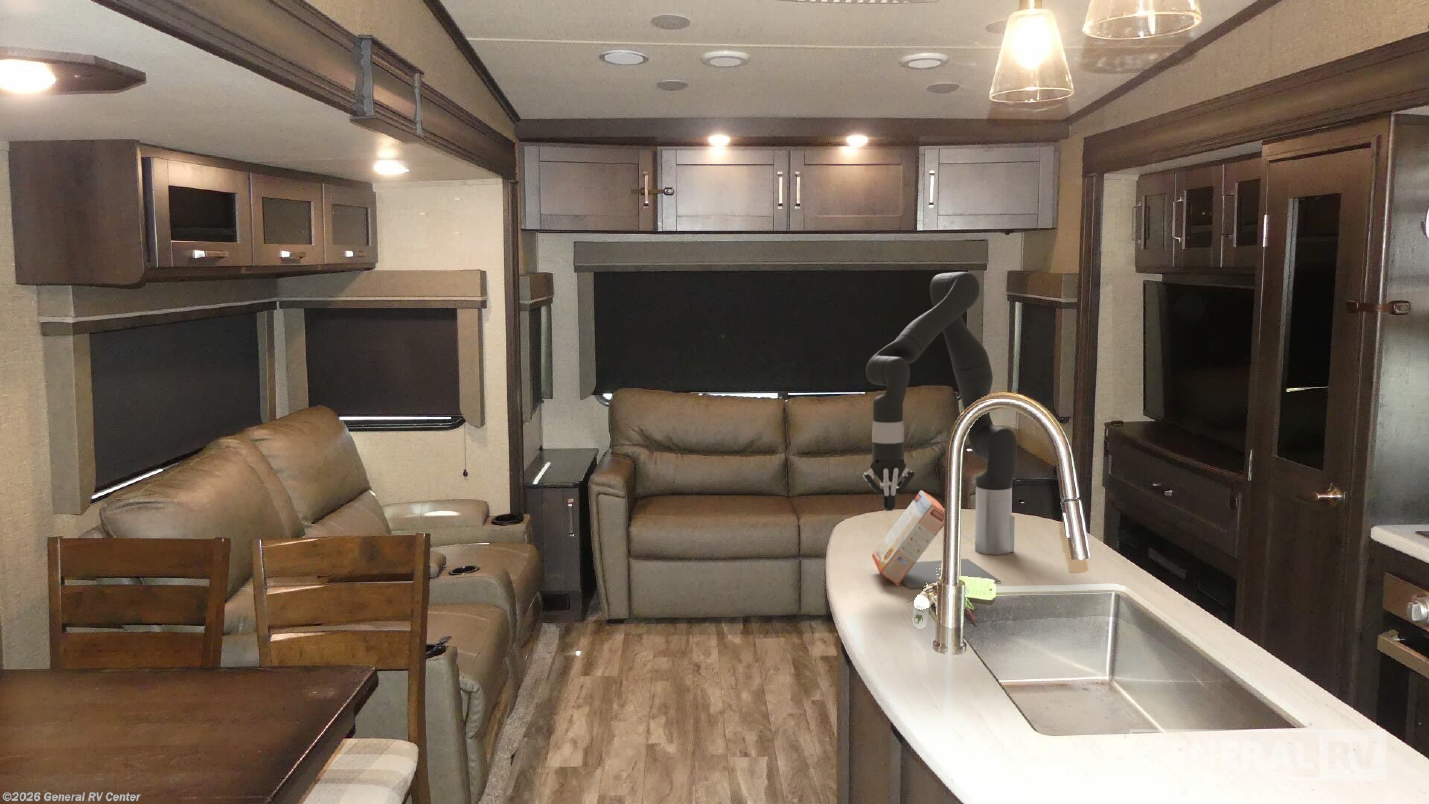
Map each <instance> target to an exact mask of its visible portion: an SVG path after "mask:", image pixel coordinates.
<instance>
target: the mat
mask: <svg viewBox="0 0 1429 804" xmlns="http://www.w3.org/2000/svg"><path fill="white" fill-rule="evenodd" d="M960 559H961V576H968V577H981V578H989V579H993V580H995V582H1001V583H1002V581H1001V580H1000V579H998V578H997V577H996V576H995V575H993V574H991V573H990V572H988V571H987V570H985V569H984V568H982V567H981V566H979V565H978V564H976V563H975V562H973V561H972V560H970V559H969V558H960ZM941 563H942V559H940V560H928V561H916V563H915V564H914V565H913V567H912V568H911V569H910V571H909V572H908V573H907V575H906V576H905V577H904V579H903V580H902V581H901V582H900V583H903V585H905V586H906V585H907V586H908V587H909V588H908V587H907V586H906V587H907V588H908V589H910V590H916V589H918V590H919V589H924V588H923V587H924V586H926V585H927V584H928V585H929V584H932V583H936V582H937V581H938V580H939V577H940V576H941V569H940V570H939V568H941ZM939 565H940V566H939ZM936 568H937V569H936ZM936 571H937V572H936ZM936 574H939V575H936ZM937 577H938V578H937ZM926 583H927V584H926ZM913 588H914V589H913Z"/></svg>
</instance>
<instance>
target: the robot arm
mask: <svg viewBox="0 0 1429 804" xmlns="http://www.w3.org/2000/svg"><path fill="white" fill-rule="evenodd" d="M980 288H981V287H980V282H979V280H978V278H977V277H976V276H975V275H974V274H973V273H971V272H968V271H956V272H955V271H954V272H944V273H939V274H936V275H935V276H933V278H932V279H931V282H930V285H929V295H930V300H931V303H932V306H933V307H932V308H931V309H930V310H929V309H928V311H926V312H924V313H923V314H921V315H919V316H918V317H917V318H915V319H914V320H912V321H911V322H910V323H909V324H908V325H906V326H905V327H904V329H903V330H902V331H901V332H900V334H898V336H897V337H896V338H895V339H894V341H892V342H890V343H889V344H887V345H886V346H884V347H883V348H882V349H880V350H879V351H877V352H876V353H875V354H873V356H872V357H870V358H869V360H868V361H867V364H866V367H865V376H866V379H867V380H868V382H870V383H871V384H873V385H876V386H885V387H886V391H885V394H881V395H878V396H876V397H875V398H874V399H873V402H872V403H873V404H872V409H873V410H872V415H873V417H872V420H873V422H872V429H871V441H872V442H871V443H872V446H871V447H872V448H871V449H872V450H871V451H872V453H871V454H872V455H871V456H872V459H871V460H872V462H871V464H870V469H868V470H867V471H866V472H863V473H862V474H861V476H862V478H863V479H864V480H865V481H866V483H867V484H868V485H869V486H870V488H871V489H872V490H873V491H874V492H875V493H876V494H878V495H881V506H882V508H883V509H884V510H885V511H886V512H892V511H893V510H894V509H895V507H896V495H897V494H900V493H902V492H904V490H905V488H907V486H908V484H910V482H911V481H912V479H913V478H914V477H915V472H914V471H913V470H910V469H909V468H907V463H906V462H905V428H904V406H903V405H904V401H905V398H906V393H907V389H908V385H909V382H910V378H911V370H910V369H911V368H910V366H909V364H912V363H914V362H916V361H917V359H919V357H920V356H921V355H922V354H923V353H924V351H925V350H926V349H927V348H928V347H929V346H930V344H931V343H932V342H933V341H934V340H935V339H936V338H937V337H938V336H939V335H940V334H941V333H942V332H943V336H944V339H945V343H946V346H947V350H948V353H949V357H950V360H951V364H952V370H953V373H954V377H955V380H956V384H957V387H958V391H959V396H960V399H961V404H962V407H963V411H964V410H965V409H966V408H967V407H968V406H970V405H971V404H972V403H973V402H975V401H976V400H978V399H981V397H984V396H987V395H988V394H989V395H990V394H991V389H992V385H993V379H994V376H993V375H994V374H993V370H992V366H991V362H990V359H989V356H988V352H987V350H986V348H985V347H984V346H983V344H982V343H981V342H980V341H979V339H978V338H977V337H976V336H975V335H974V333H972V331H971V330H970V328H968V326H967V325H966V323H965V320H964V319H963V316H962V315H963V314H964V313H965V312H967V310H969V309H970V308H972V306H973V305H975V303H976V301H977V300H978V299H979V296H980V295H979V294H980V291H981V289H980ZM990 414H991V413H990V411H989V412H988V413H987V414H984V415H982V416H981V417H979V418H978V420H976V421H975V423H974V424H973V426H972V427H971V428H970V431H969V433H968V432H967V436H968V442H969V446H970V449H971V452H972V453H973V454H974V456H976V457H978V458H979V459H982V460H987V465H986V470H985V472H981V473H979V474H977V475H976V478H975V517H974V518H975V523H974V524H975V526H974V527H975V528H974V529H975V530H974V532H975V534H974V539H975V540H974V550H975V551H976V552H978V553H980V554H986V555H993V556H994V555H998V556H999V555H1006V554H1009V553H1014V552H1015V527H1016V526H1015V525H1016V524H1015V522H1016V517H1015V515H1012V513H1013V510H1012V509H1013V506H1012V504H1013V498H1012V497H1013V481H1014V479H1015V476H1016V470H1017V468H1016V467H1017V458H1018V457H1017V455H1018V454H1017V453H1018V442H1017V436H1016V434H1015V432H1014V431H1013V430H1011V428H1008V427H1004V426H999V425H994V424H993V421H992V417H991V415H990ZM874 475H875V476H874ZM901 476H902V477H901ZM875 477H876V478H877V479H878V480H879V485H880V486H879V485H878V484H877V483H876V481H875V480H874V478H875ZM900 477H901V478H900ZM898 480H899V481H898Z"/></svg>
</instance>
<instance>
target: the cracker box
mask: <svg viewBox="0 0 1429 804" xmlns="http://www.w3.org/2000/svg"><path fill="white" fill-rule="evenodd" d="M943 509H944V510H945V508H944V507H943V506H942V505H941V503H940V502H939V501H938V500H937V499H936V498H934V497H933V496H932V495H930V494H928V493H927V492H925V491H923V490H922V489H921V490H919V492H918V493H917V494H916V495H915V497H914V498H913V499H912V501H911V503H910V504H909V505H908V506H907V508H906V509H905V510H904V512H903V513H902V515H901V516H900V517H899V518H898V520H897V521H896V522H895V524H894V525H893V526H892V528H891V529H890V531H889V532H888V533H887V535H886V536H885V537H884V538H883V540H882V541H881V542H880V544H879V545H878V546H877V548H876V549H875V550H874V551H873V553H872V555H871V557H872V559H873V561H874V564H875V566H876V568H877V570H878V573H879V574H880V575H882V576H883V577H884V578H886V579H888V580H889V581H890V582H892V583H893V584H894V585H897V586H899V585H900V583H902V582H901V581H902V580H903V579H904V577H905V576H906V575H907V573H908V572H909V571H910V569H911V568H912V567H913V565H914V564H915V563H916V562H918V560H919V559H920V557H921V556H922V555H923V554H924V552H925V551H926V550H927V549H928V547H929V545H930V544H931V543H932V542H933V541H934V539H935V537H936V536H937V535H938V534H939V533H940V531H941V530H942V529H943V528H944V526H945V525H944V512H943Z"/></svg>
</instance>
